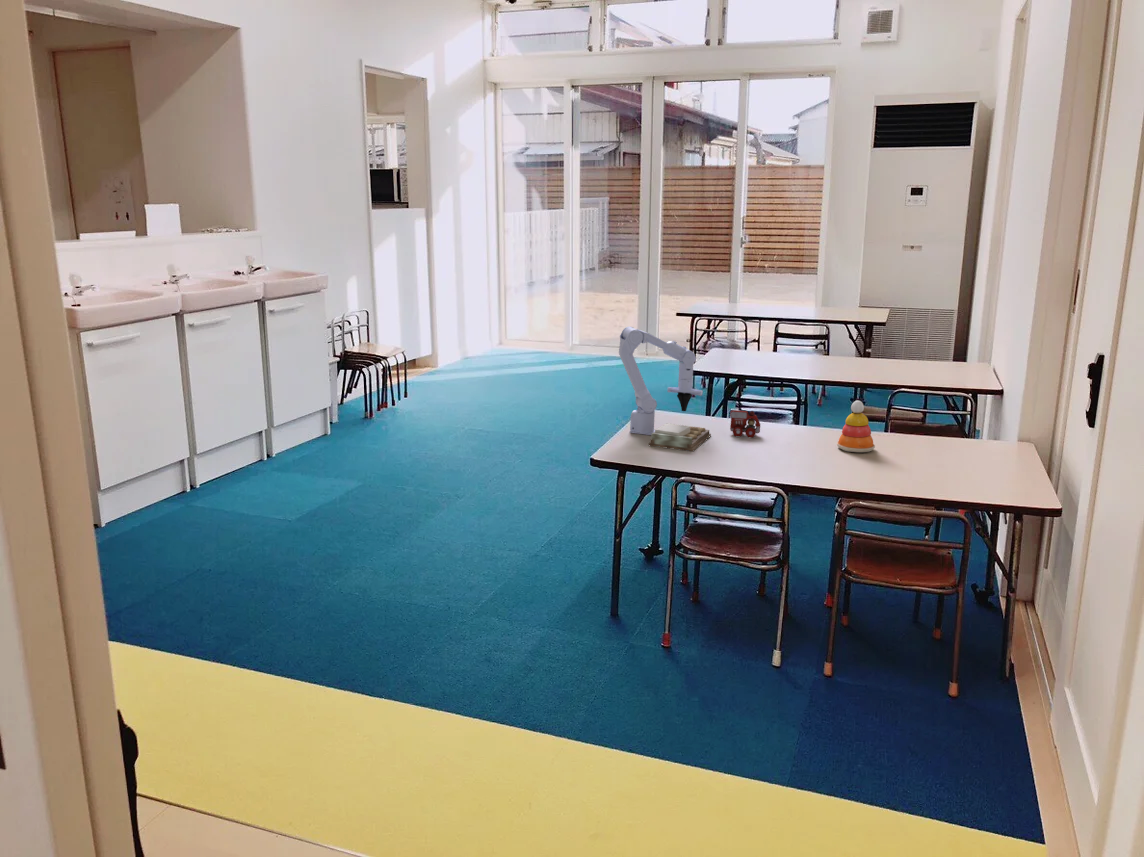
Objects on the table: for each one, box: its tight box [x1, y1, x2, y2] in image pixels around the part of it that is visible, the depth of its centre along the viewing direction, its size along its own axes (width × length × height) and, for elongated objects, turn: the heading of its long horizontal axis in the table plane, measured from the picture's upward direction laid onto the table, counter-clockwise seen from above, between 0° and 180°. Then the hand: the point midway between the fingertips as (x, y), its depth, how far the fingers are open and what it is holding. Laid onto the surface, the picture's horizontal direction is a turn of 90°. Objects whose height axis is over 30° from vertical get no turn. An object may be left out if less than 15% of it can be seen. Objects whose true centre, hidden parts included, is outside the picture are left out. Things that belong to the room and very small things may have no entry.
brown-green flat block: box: [648, 426, 712, 452], centre depth 356 cm, size 18×25×5 cm
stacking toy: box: [836, 399, 876, 453], centre depth 346 cm, size 14×14×20 cm
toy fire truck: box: [729, 409, 761, 438], centre depth 365 cm, size 7×12×10 cm, turn 79°
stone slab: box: [654, 423, 690, 436], centre depth 353 cm, size 10×12×2 cm
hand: (684, 410), depth 371 cm, fingers closed
